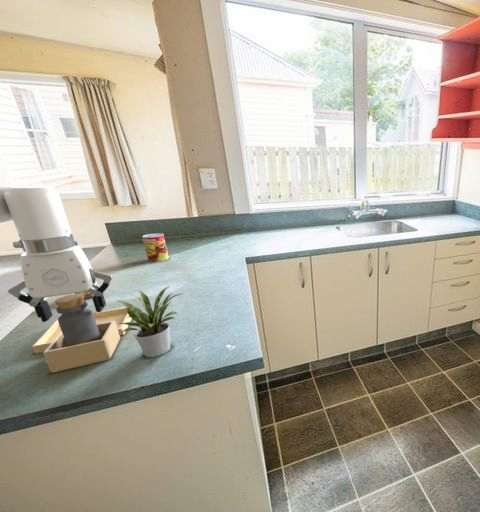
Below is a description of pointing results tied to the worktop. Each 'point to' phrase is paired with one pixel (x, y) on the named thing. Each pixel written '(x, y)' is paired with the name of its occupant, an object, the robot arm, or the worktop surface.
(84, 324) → the bottle
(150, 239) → the canned food
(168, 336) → the house plant
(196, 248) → the worktop surface
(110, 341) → the bin
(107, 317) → the tray
